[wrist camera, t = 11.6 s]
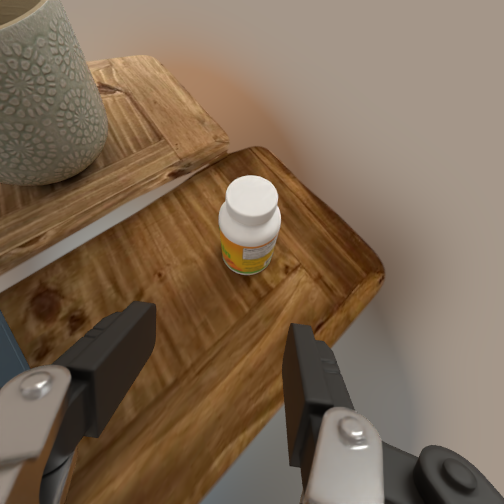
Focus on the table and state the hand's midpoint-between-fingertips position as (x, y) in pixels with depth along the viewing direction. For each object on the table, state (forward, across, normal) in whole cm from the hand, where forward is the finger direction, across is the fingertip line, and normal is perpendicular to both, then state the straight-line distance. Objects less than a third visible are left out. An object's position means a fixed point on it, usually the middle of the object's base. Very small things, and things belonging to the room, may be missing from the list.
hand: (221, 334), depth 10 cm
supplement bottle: (+18, 0, -3) cm, 19 cm away
